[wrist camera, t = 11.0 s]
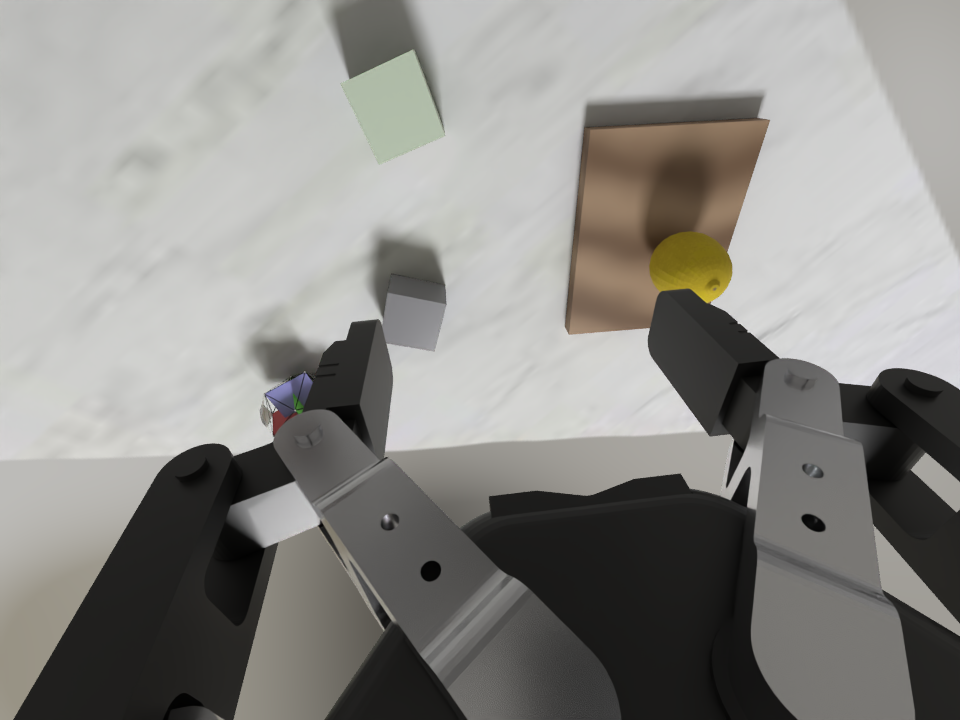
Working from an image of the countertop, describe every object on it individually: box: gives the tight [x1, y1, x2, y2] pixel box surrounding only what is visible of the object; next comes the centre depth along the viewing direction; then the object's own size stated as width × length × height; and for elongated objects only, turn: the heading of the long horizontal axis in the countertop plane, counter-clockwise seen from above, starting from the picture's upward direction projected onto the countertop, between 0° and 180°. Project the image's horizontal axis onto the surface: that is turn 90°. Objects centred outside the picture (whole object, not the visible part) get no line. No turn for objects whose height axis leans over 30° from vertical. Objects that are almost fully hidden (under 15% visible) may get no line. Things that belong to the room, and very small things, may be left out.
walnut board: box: [565, 118, 770, 335], centre depth 37 cm, size 18×14×2 cm
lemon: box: [649, 231, 732, 303], centre depth 34 cm, size 6×6×8 cm
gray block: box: [382, 274, 446, 351], centre depth 38 cm, size 5×5×4 cm
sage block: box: [341, 50, 445, 165], centre depth 28 cm, size 5×5×4 cm
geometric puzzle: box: [260, 371, 314, 437], centre depth 41 cm, size 7×7×8 cm
